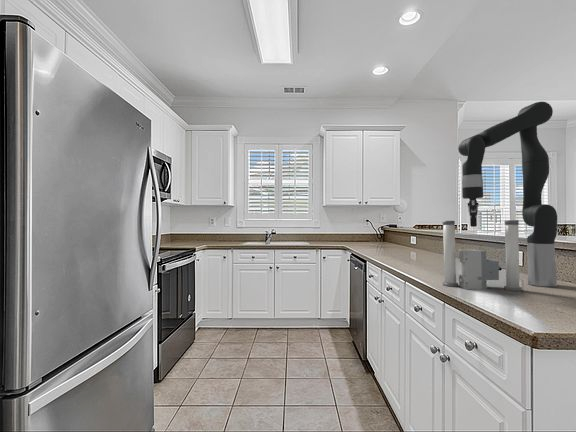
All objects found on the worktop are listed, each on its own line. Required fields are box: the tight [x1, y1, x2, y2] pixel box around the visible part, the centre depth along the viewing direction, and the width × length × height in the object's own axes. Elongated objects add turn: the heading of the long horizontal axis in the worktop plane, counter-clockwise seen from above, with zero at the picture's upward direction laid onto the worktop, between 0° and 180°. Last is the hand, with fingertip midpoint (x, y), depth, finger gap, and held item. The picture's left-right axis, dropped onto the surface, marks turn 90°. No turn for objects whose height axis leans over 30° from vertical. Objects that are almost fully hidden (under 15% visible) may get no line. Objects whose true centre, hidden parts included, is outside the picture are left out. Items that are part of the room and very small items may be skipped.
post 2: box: [503, 219, 523, 292], centre depth 135 cm, size 6×6×27 cm
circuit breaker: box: [457, 249, 503, 290], centre depth 140 cm, size 8×14×15 cm, turn 78°
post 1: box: [442, 220, 460, 288], centre depth 146 cm, size 6×6×27 cm
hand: (473, 226), depth 142 cm, fingers open, 8 cm apart
